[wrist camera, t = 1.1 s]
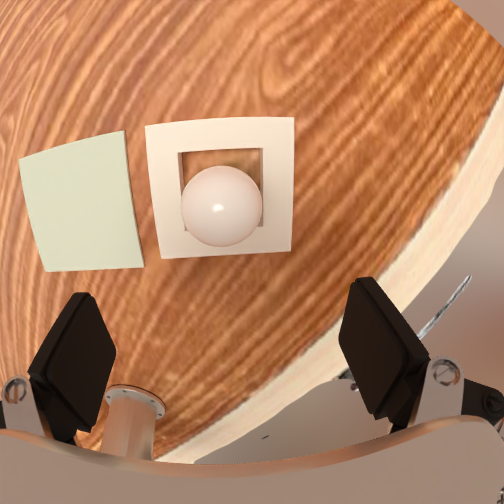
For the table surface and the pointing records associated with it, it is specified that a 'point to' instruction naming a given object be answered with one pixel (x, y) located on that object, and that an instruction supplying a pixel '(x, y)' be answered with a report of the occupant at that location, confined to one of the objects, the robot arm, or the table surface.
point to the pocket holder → (211, 138)
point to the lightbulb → (221, 206)
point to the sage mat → (82, 205)
